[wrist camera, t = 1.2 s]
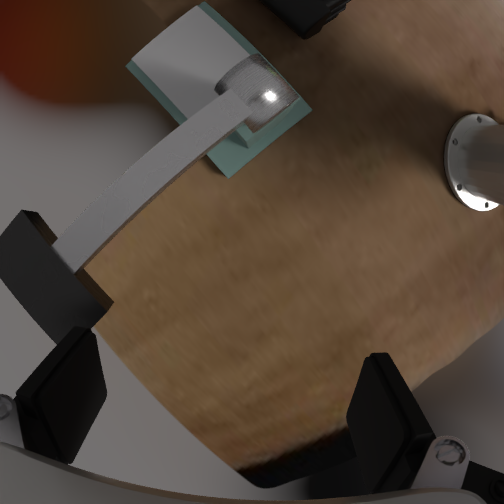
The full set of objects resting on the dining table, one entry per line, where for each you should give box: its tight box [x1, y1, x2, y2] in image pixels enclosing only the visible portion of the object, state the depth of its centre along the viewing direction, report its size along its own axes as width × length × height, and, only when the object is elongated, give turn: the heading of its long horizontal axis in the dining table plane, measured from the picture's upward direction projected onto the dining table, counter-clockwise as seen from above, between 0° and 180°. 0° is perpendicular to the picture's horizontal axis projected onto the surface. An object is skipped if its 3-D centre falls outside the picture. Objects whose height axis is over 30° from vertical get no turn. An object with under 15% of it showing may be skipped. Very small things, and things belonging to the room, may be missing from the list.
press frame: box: [126, 1, 312, 179], centre depth 23 cm, size 11×17×16 cm, turn 41°
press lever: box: [0, 53, 299, 344], centre depth 14 cm, size 16×6×3 cm, turn 131°
